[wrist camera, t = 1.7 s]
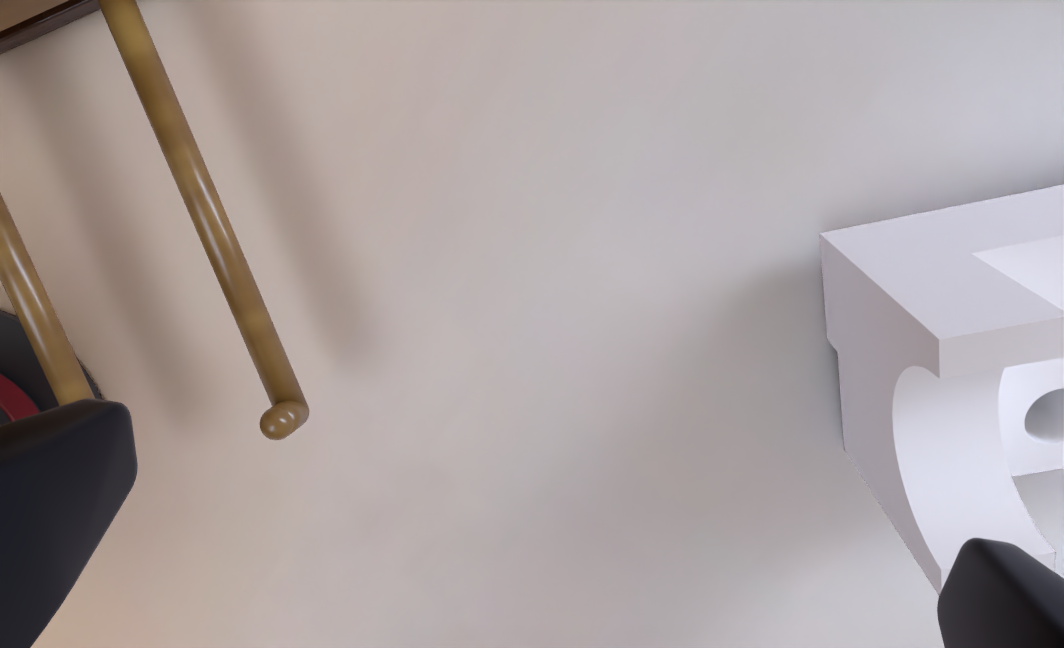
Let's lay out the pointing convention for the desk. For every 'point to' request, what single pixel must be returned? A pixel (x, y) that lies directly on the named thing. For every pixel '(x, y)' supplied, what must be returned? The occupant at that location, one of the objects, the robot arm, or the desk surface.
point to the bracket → (952, 366)
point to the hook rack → (48, 3)
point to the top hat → (23, 375)
